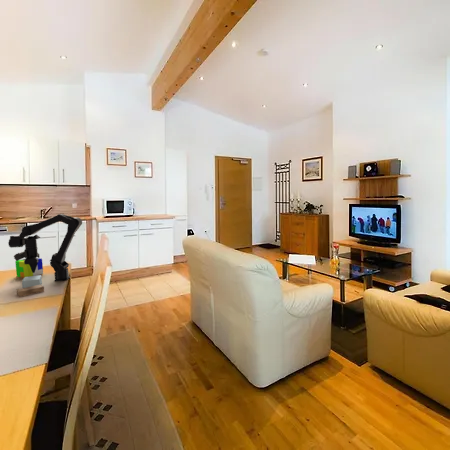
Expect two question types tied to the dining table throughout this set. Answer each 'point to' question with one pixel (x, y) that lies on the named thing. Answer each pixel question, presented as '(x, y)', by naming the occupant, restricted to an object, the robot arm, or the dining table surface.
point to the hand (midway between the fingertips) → (33, 272)
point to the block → (31, 281)
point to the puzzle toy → (28, 269)
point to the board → (30, 290)
